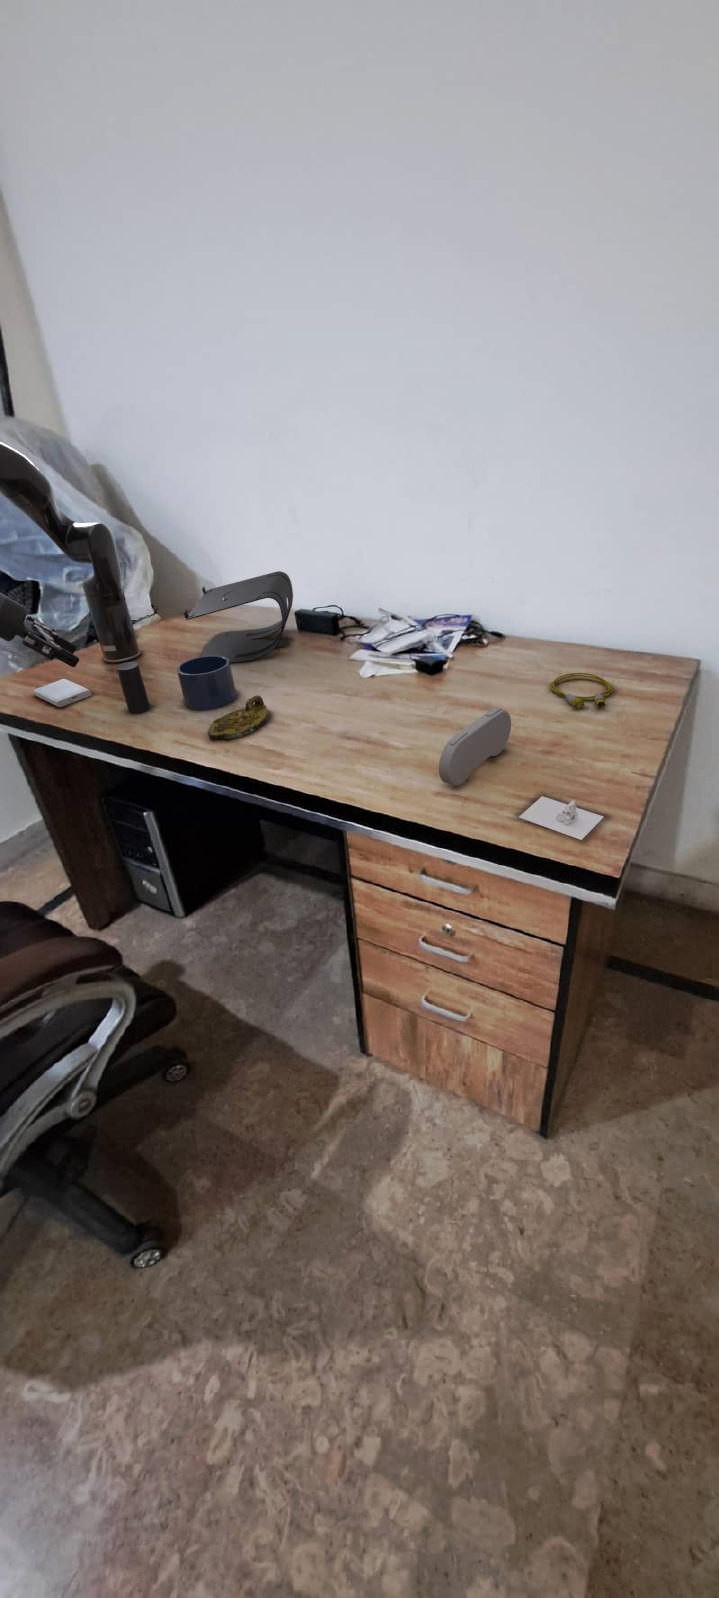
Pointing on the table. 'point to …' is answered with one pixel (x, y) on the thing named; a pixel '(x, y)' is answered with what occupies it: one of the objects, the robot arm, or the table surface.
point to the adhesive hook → (561, 817)
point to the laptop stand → (266, 586)
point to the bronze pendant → (240, 720)
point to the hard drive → (62, 692)
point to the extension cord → (578, 702)
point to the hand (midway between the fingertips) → (75, 656)
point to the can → (206, 682)
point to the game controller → (474, 746)
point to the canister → (133, 687)
